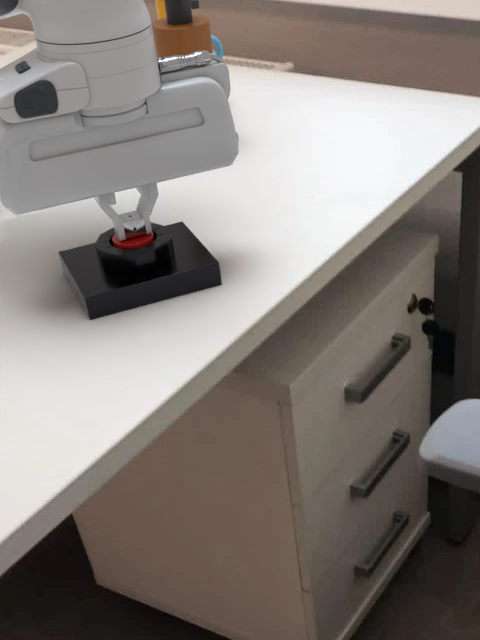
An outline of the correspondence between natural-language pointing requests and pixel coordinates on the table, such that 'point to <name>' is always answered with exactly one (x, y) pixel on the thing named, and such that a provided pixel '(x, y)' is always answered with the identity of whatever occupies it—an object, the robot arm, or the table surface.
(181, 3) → the labeled post on disc
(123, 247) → the button
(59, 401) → the table surface
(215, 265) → the button block
